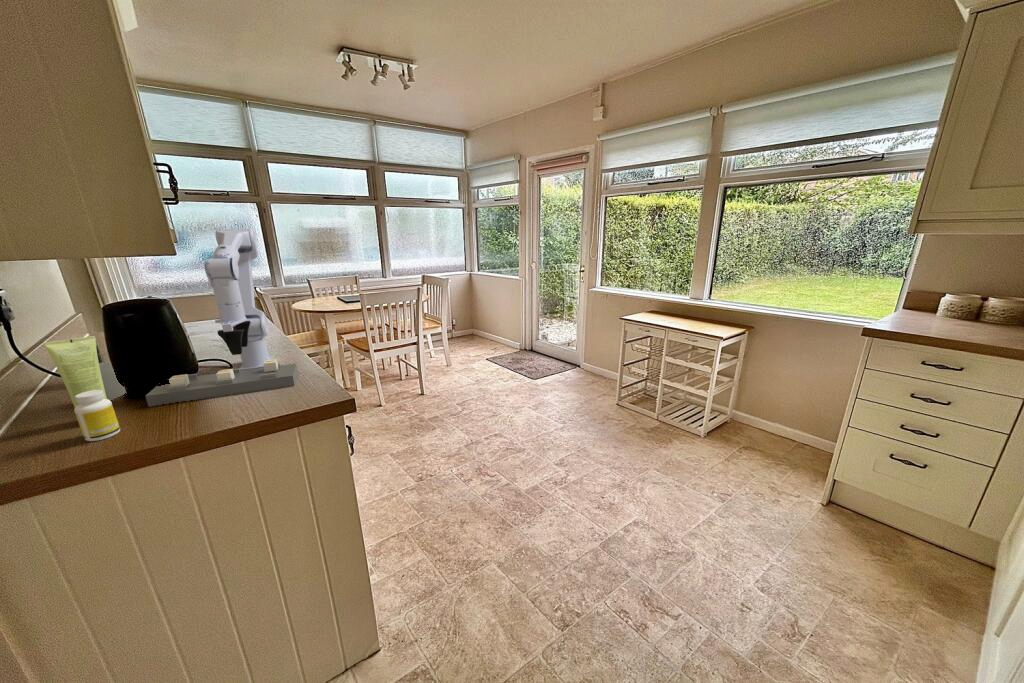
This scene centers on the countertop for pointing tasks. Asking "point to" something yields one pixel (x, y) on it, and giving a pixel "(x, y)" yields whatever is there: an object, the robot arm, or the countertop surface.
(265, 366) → the switch
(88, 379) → the tube
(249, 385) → the power strip
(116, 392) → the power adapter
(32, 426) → the countertop surface
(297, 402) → the countertop surface
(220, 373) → the switch mid
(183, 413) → the countertop surface
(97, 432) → the supplement bottle
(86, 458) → the countertop surface
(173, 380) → the switch
